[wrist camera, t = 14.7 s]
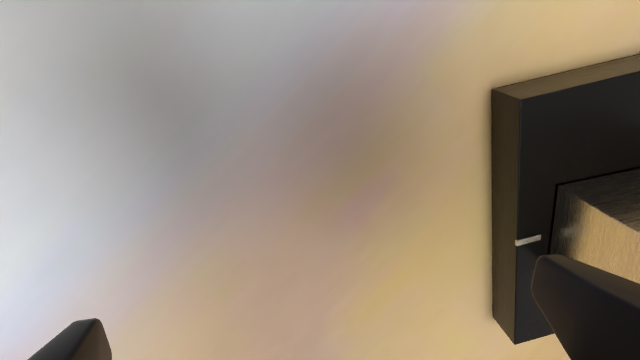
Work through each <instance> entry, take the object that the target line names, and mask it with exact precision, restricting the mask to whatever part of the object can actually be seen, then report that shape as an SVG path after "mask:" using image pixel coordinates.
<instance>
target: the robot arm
mask: <svg viewBox="0 0 640 360" xmlns="http://www.w3.org/2000/svg"><path fill="white" fill-rule="evenodd" d="M531 291H532V295H533V297H534V299H535V301H536V303H537V304H538V306H539V308H540V309H541V311H542V313H543V314H544V316H545V318H546V319H547V321H548V323H549V324H550V326H551V328H552V329H553V331H554V333H555V334H556V336H557V338H558V339H559V341H560V343H561V344H562V346H563V348H564V349H565V351H566V352H567V354H568V356H569V357H570V359H571V360H640V284H639V283H636V282H634V281H631V280H628V279H626V278H623V277H620V276H618V275H615V274H612V273H610V272H607V271H604V270H602V269H599V268H596V267H593V266H591V265H588V264H585V263H583V262H580V261H577V260H575V259H572V258H569V257H567V256H564V255H561V254H549V255H542V256H540V257H539V258H538V259H537V261H536V265H535V270H534V274H533V279H532V283H531ZM28 360H112V353H111V348H110V345H109V342H108V339H107V337H106V334H105V331H104V328H103V325H102V323H101V321H100V320H99V319H96V318H93V319H86V320H79V321H75V322H73V323H72V324H70V325H69V326H68V327H67V328H66V329H64V330H63V331H62V332H61V333H59V334H58V335H57V336H56V337H55V338H53V339H52V340H51V341H50V342H49V343H47V344H46V345H45V346H44V347H42V348H41V349H40V350H39V351H38V352H36V353H35V354H34V355H33V356H32V357H30V358H29V359H28Z"/></svg>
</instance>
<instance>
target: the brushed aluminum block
mask: <svg viewBox="0 0 640 360" xmlns="http://www.w3.org/2000/svg"><path fill="white" fill-rule="evenodd" d="M550 254H561V255H564V256H567V257H569V258H572V259H575V260H577V261H580V262H583V263H585V264H588V265H591V266H593V267H596V268H599V269H602V270H604V271H607V272H610V273H612V274H615V275H618V276H620V277H623V278H626V279H628V280H631V281H634V282H636V283H639V284H640V169H635V170H630V171H625V172H621V173H616V174H611V175H606V176H602V177H597V178H592V179H587V180H583V181H578V182H573V183H568V184H564V185H559V186H558V191H557V199H556V207H555V215H554V223H553V231H552V239H551V247H550Z"/></svg>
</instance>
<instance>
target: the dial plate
mask: <svg viewBox="0 0 640 360" xmlns="http://www.w3.org/2000/svg"><path fill="white" fill-rule="evenodd" d="M635 169H640V54H638V55H634V56H630V57H626V58H621V59H617V60H613V61H609V62H605V63H600V64H596V65H592V66H588V67H584V68H579V69H575V70H571V71H567V72H563V73H558V74H554V75H550V76H546V77H542V78H537V79H533V80H529V81H525V82H521V83H516V84H512V85H508V86H504V87H500V88H495V89H492V204H493V317H494V319H495V320H496V321H497V323H498V324H499V325H500V327H501V328H502V329H503V330H504V332H505V333H506V334H507V336H508V337H509V338H510V340H511V341H512V342H513V343H514V344H519V343H522V342H526V341H530V340H533V339H537V338H540V337H544V336H547V335H551V334H554V331H553V329H552V328H551V326H550V324H549V323H548V321H547V319H546V318H545V316H544V314H543V313H542V311H541V309H540V308H539V306H538V304H537V303H536V301H535V299H534V297H533V295H532V291H531V283H532V279H533V274H534V270H535V265H536V261H537V259H538V258H539V257H540V256H542V255H549V254H550V247H551V239H552V231H553V223H554V215H555V207H556V199H557V191H558V186H559V185H564V184H568V183H573V182H578V181H583V180H587V179H592V178H597V177H602V176H606V175H611V174H616V173H621V172H625V171H630V170H635Z"/></svg>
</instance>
